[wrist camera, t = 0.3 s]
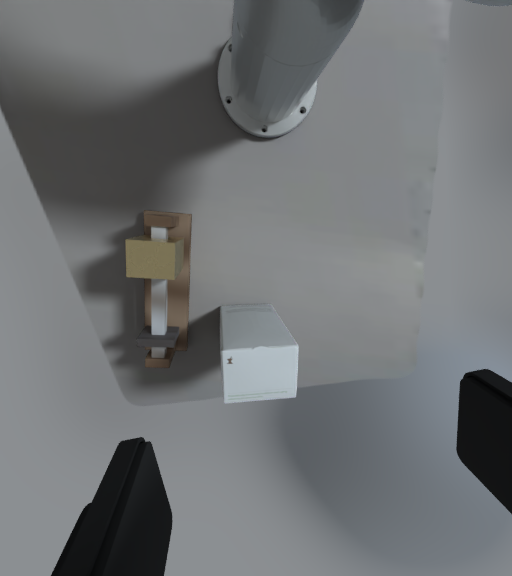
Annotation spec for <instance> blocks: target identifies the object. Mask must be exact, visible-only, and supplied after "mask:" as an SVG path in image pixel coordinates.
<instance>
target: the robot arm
mask: <svg viewBox="0 0 512 576" xmlns="http://www.w3.org/2000/svg"><path fill="white" fill-rule="evenodd" d="M465 1H469V2H472V3H478V4H483V5H488V6H508V5H512V0H465ZM363 3H364V0H234V8H233V29H232V37H231V38H230V39H229V41H228V42H227V44H226V46H225V48H224V49H223V51H222V55H221V58H220V61H219V67H218V88H219V94H220V97H221V101H222V104H223V106H224V108H225V110H226V112H227V113H228V115H229V116H230V118H231V119H232V120H233V121H234V122H235V123H236V124H237V125H238V126H239V127H240V128H241V129H243V130H244V131H246V132H247V133H249V134H252V135H254V136H258V137H263V138H274V137H278V136H282V135H285V134H287V133H289V132H291V131H292V130H293V129H295V128H296V127H297V126H298V125H299V124H300V123H301V122H302V121H303V120H304V119H305V117H306V116H307V115H308V113H309V111H310V109H311V107H312V105H313V103H314V99H315V96H316V91H317V83H318V82H317V78H318V77H319V75H320V74H321V73H322V71H323V70H324V68H325V67H326V65H327V64H328V62H329V61H330V60H331V58H332V57H333V55H334V54H335V52H336V51H337V49H338V48H339V46H340V45H341V43H342V42H343V40H344V39H345V37H346V36H347V34H348V33H349V31H350V30H351V28H352V27H353V25H354V23H355V21H356V19H357V17H358V15H359V13H360V11H361V8H362V5H363ZM231 50H232V51H231ZM230 51H231V52H230ZM227 101H230V102H231V103H230V104H228V103H227ZM300 111H302V112H303V114H301V113H300ZM262 129H265V131H266V132H262ZM457 454H458V456H459V458H460V460H461V461H462V463H463V464H464V465H465V466H466V467H467V468H468V469H469V470H470V471H471V472H472V473H473V474H474V475H475V476H476V477H477V478H478V479H479V480H480V481H481V482H482V483H483V484H484V486H485V487H486V488H487V489H488V490H489V491H490V492H491V493H492V494H493V495H494V496H495V497H496V498H497V499H498V500H499V501H500V502H501V503H502V504H503V505H504V506H505V507H506V508H507V510H508V511H509V512H510V513H511V514H512V383H511V382H509V381H508V380H506V379H505V378H503V377H501V376H499V375H498V374H496V373H494V372H493V371H491V370H488V369H483V370H477V371H473V372H468V373H466V374H465V375H464V377H463V379H462V380H461V381H460V393H459V411H458V431H457ZM171 530H172V512H171V508H170V504H169V501H168V498H167V495H166V491H165V488H164V484H163V481H162V477H161V474H160V470H159V467H158V464H157V461H156V457H155V453H154V450H153V447H152V444H151V442H150V441H149V442H145V440H144V438H142V437H140V438H135V439H130V440H125V441H121V442H120V443H119V445H118V446H117V449H116V451H115V453H114V455H113V457H112V460H111V462H110V464H109V466H108V468H107V470H106V472H105V475H104V477H103V479H102V481H101V483H100V485H99V488H98V490H97V492H96V494H95V497H94V499H93V501H92V503H89V504H88V505H87V506H86V507H85V508H84V509H83V511H82V513H81V514H80V516H79V518H78V520H77V523H76V524H75V527H74V529H73V531H72V533H71V535H70V537H69V539H68V541H67V543H66V545H65V547H64V549H63V552H62V554H61V556H60V558H59V560H58V562H57V564H56V566H55V568H54V571H53V572H52V575H51V576H164V572H165V566H166V560H167V553H168V548H169V542H170V535H171Z"/></svg>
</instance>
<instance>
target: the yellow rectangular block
mask: <svg viewBox="0 0 512 576" xmlns="http://www.w3.org/2000/svg"><path fill="white" fill-rule="evenodd" d="M183 260H184V238H179V237H168V239H157V238H151V235H141V236H137V237H133V238H129V239H126V277H134V278H150V279H167V280H175V279H176V277H177V276H178V275H179V273H180V272H181V271H182V269H183Z"/></svg>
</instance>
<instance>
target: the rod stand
mask: <svg viewBox="0 0 512 576" xmlns="http://www.w3.org/2000/svg"><path fill="white" fill-rule="evenodd" d="M191 221H192V214H182V213H170V212H159V211H148V210H144V235H151V238H157V239H168V237H179V238H184V260H183V269H182V271H181V272H180V273H179V275H178V276H177V277H176V279H175V280H167V279H150V278H144V288H145V328H144V329H143V331H142V332H141V334H140V335H139V337H138V338H137V347H145V350H150V351H149V353H148V355H147V356H146V358H145V367H153V368H169V367H170V364H171V361H172V358H173V356H174V353H175V351H186V350H187V347H188V317H189V285H190V253H191Z"/></svg>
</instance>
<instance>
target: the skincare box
mask: <svg viewBox="0 0 512 576" xmlns="http://www.w3.org/2000/svg"><path fill="white" fill-rule="evenodd" d="M220 353H221V375H222V388H223V399H224V403H236V402H247V401H259V400H271V399H282V398H294V397H296V390H297V370H298V344H297V343H296V341H295V340H294V338H293V337H292V335H291V334H290V332H289V331H288V329H287V328H286V326H285V325H284V323H283V322H282V320H281V318H280V317H279V315H278V314H277V312H276V311H275V309H274V308H273V306H272V305H271V304H254V305H231V306H221V307H220Z"/></svg>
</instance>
